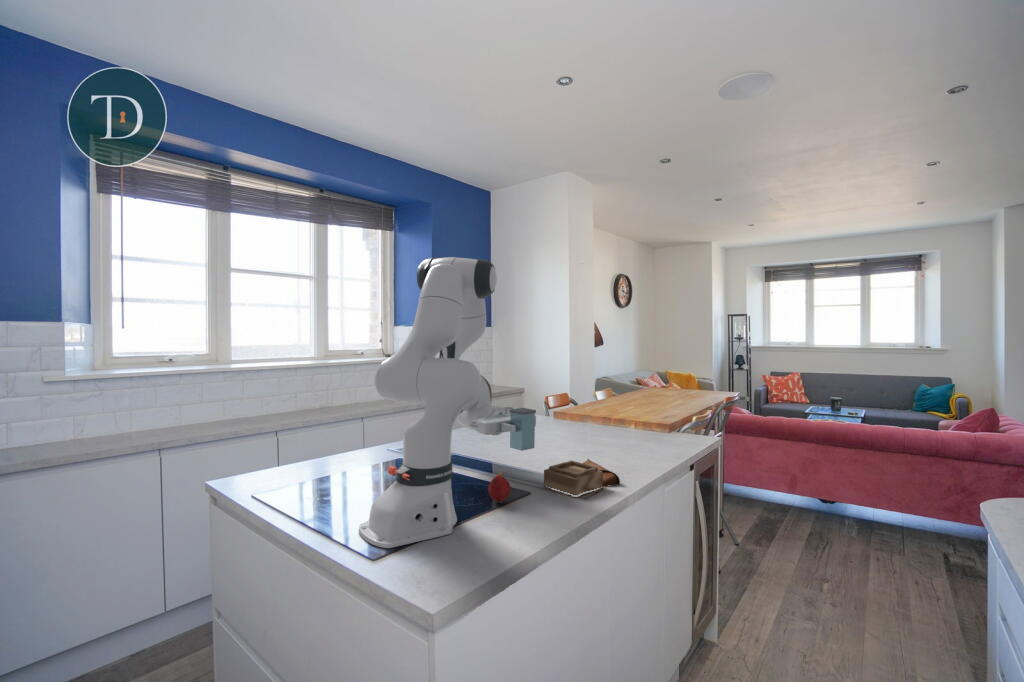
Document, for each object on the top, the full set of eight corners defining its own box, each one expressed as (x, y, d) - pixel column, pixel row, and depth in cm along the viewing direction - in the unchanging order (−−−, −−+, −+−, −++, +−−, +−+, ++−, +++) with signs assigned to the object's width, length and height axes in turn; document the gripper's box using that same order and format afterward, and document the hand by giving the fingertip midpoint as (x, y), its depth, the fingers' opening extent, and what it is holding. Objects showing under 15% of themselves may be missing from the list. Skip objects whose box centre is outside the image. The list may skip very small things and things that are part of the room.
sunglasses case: (566, 470, 154) (576, 452, 155) (582, 479, 156) (592, 461, 157) (595, 488, 137) (606, 467, 138) (613, 497, 139) (623, 477, 140)
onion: (496, 508, 121) (496, 477, 121) (484, 501, 125) (484, 471, 125) (514, 503, 124) (514, 473, 124) (502, 497, 129) (502, 468, 129)
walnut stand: (575, 498, 129) (575, 476, 129) (543, 486, 138) (544, 466, 138) (602, 488, 137) (602, 467, 137) (570, 478, 146) (571, 459, 146)
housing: (521, 451, 133) (522, 412, 133) (509, 447, 137) (509, 409, 137) (535, 448, 137) (535, 410, 136) (522, 444, 141) (522, 407, 140)
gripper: (466, 413, 139) (497, 420, 129) (517, 406, 153) (548, 412, 143) (466, 435, 139) (497, 443, 129) (517, 426, 153) (548, 433, 143)
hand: (524, 427), depth 136 cm, fingers closed on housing, 5 cm apart
